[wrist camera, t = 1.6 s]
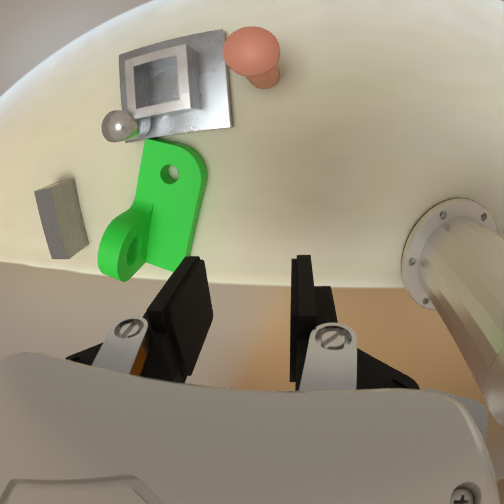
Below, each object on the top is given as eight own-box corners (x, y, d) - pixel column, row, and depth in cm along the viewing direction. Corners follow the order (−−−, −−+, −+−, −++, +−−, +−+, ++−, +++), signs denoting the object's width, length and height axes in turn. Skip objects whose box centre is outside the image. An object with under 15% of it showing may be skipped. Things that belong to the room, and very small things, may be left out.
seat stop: (73, 178, 27) (50, 187, 23) (88, 244, 30) (68, 259, 27) (57, 182, 27) (34, 191, 24) (71, 244, 31) (52, 259, 27)
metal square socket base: (225, 33, 20) (210, 13, 15) (232, 126, 23) (218, 127, 19) (125, 56, 21) (94, 48, 16) (131, 141, 25) (101, 148, 20)
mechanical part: (187, 265, 30) (157, 309, 23) (137, 248, 30) (97, 285, 23) (214, 151, 25) (182, 163, 17) (155, 137, 25) (107, 145, 17)
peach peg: (281, 56, 20) (277, 24, 12) (284, 91, 21) (281, 73, 14) (243, 59, 21) (221, 30, 13) (246, 93, 22) (224, 78, 14)
